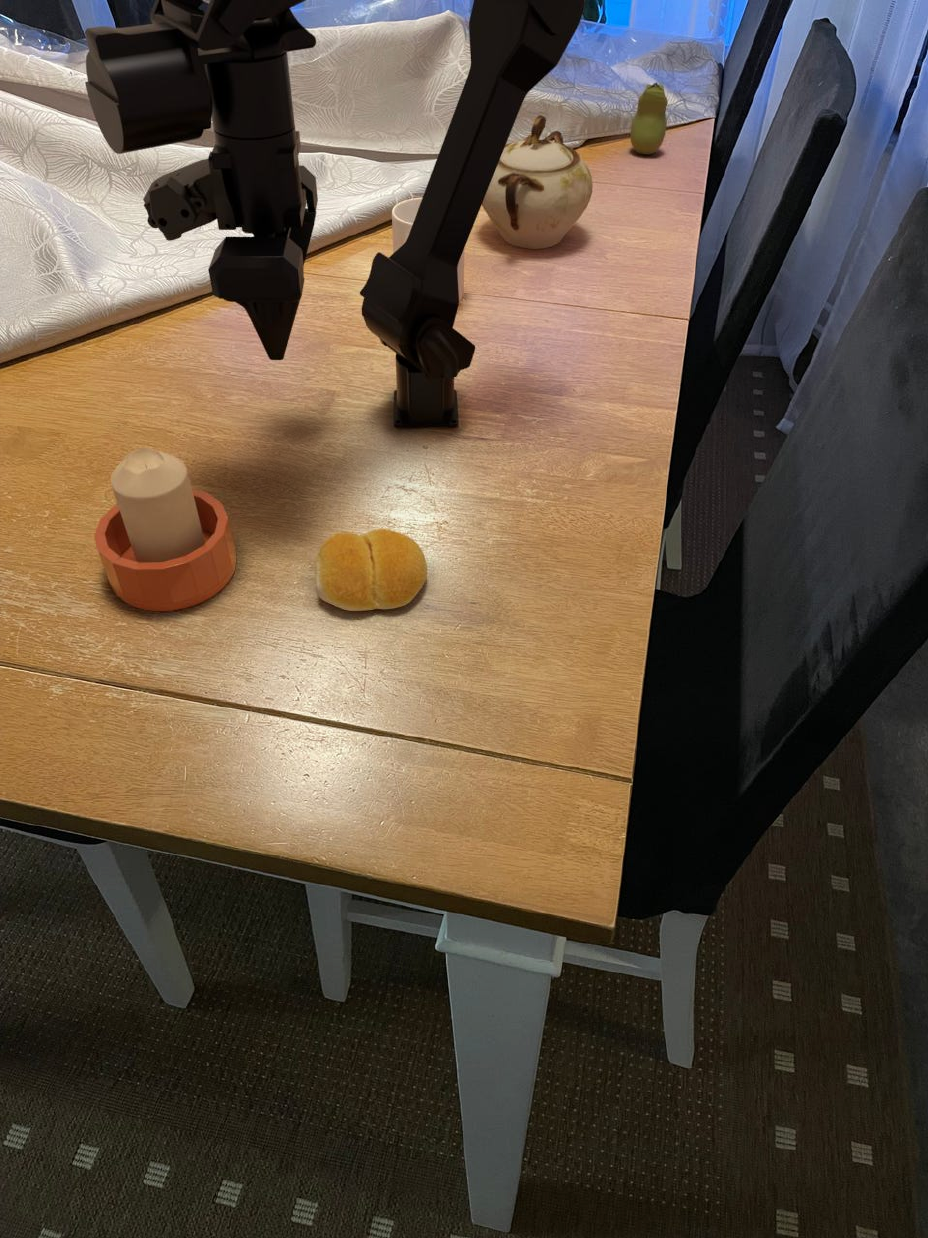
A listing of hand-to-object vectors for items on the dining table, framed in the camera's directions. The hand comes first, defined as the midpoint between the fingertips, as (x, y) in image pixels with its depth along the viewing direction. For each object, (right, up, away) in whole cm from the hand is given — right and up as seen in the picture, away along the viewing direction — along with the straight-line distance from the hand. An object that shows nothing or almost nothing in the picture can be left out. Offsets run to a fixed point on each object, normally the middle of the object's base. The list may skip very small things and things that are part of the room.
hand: (282, 331), depth 73 cm
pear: (+45, +52, +70) cm, 98 cm away
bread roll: (+8, -21, -2) cm, 23 cm away
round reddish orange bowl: (-9, -20, -2) cm, 22 cm away
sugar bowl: (+24, +28, +46) cm, 59 cm away
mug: (+10, +13, +32) cm, 36 cm away
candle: (-8, -20, -2) cm, 21 cm away
